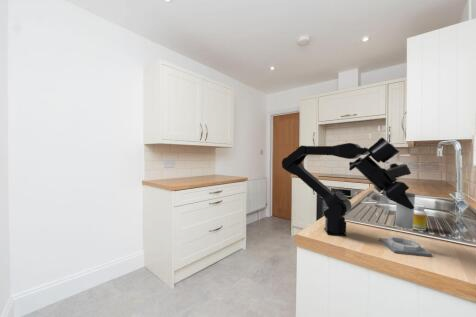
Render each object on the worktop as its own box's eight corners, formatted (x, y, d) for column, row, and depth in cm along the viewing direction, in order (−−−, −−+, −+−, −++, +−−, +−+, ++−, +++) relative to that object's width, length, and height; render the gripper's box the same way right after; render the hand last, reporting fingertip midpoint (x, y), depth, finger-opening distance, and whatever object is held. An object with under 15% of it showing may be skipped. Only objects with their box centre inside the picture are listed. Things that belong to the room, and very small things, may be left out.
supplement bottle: (429, 231, 84) (430, 207, 84) (414, 230, 85) (415, 206, 85) (420, 226, 89) (421, 204, 89) (406, 225, 90) (407, 203, 90)
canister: (400, 227, 67) (402, 194, 67) (392, 223, 72) (393, 191, 71) (416, 229, 66) (418, 195, 66) (407, 224, 71) (409, 192, 71)
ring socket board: (394, 252, 64) (394, 246, 64) (378, 239, 74) (379, 234, 74) (431, 256, 62) (431, 250, 62) (410, 242, 72) (411, 237, 72)
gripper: (401, 155, 61) (449, 196, 57) (385, 155, 79) (421, 187, 74) (369, 180, 65) (412, 220, 61) (360, 174, 82) (393, 206, 78)
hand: (410, 206), depth 68 cm, fingers closed on canister, 5 cm apart
